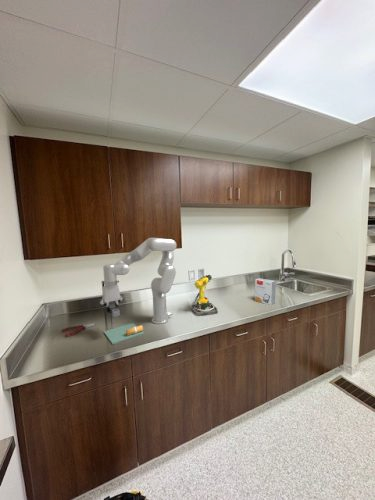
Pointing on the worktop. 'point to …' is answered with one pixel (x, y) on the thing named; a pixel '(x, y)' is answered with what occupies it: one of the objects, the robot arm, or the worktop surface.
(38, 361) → the worktop surface
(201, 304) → the yellow upright jointed figure
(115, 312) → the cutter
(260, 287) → the hard drive box
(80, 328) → the pliers
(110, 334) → the cutting mat
